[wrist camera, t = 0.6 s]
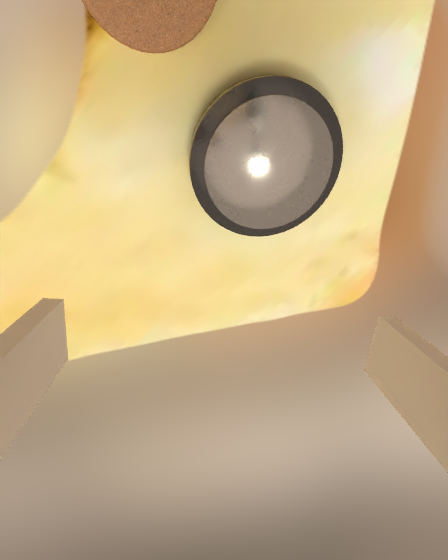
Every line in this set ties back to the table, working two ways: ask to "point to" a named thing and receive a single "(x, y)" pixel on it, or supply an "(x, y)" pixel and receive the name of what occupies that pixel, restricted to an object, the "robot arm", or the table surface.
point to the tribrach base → (265, 155)
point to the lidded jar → (151, 21)
